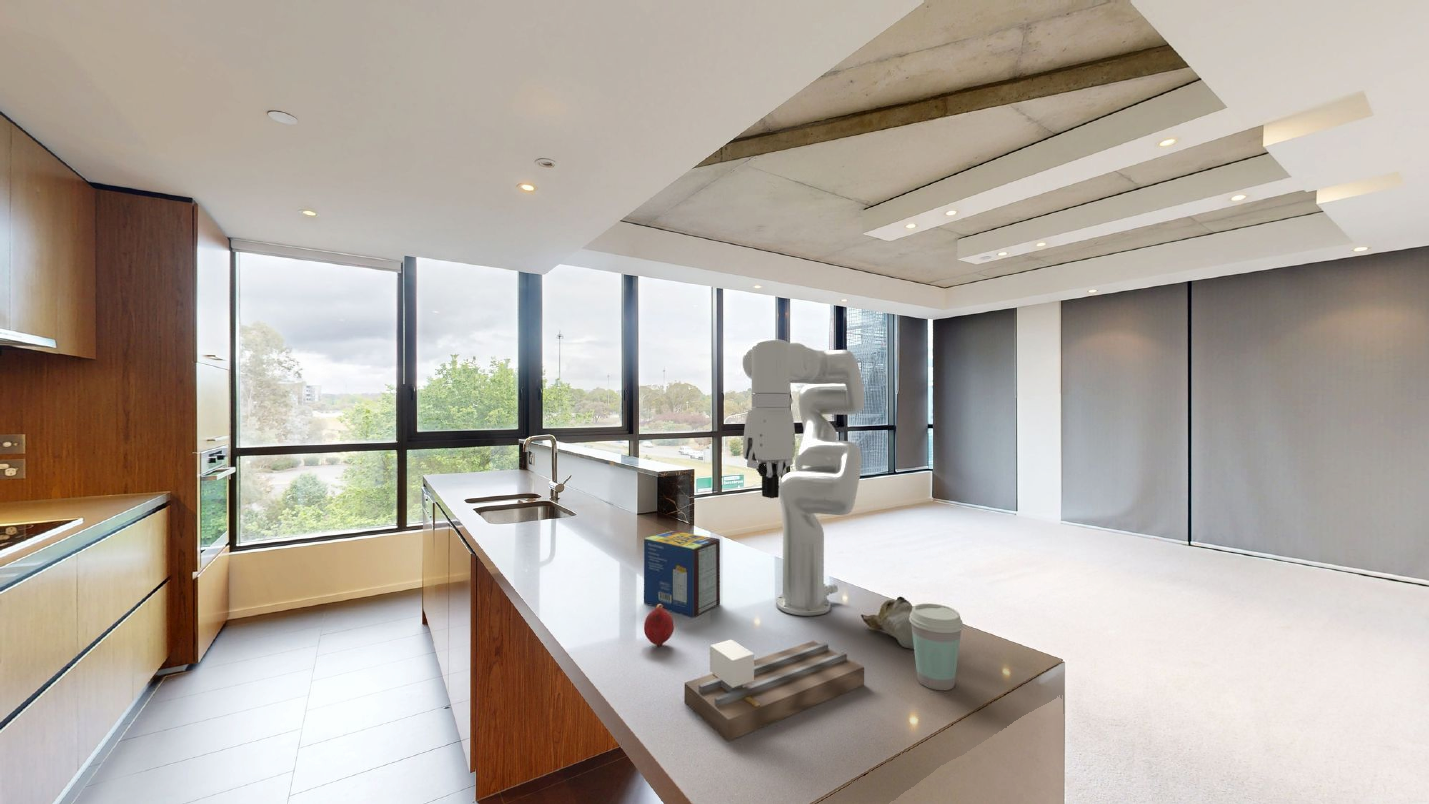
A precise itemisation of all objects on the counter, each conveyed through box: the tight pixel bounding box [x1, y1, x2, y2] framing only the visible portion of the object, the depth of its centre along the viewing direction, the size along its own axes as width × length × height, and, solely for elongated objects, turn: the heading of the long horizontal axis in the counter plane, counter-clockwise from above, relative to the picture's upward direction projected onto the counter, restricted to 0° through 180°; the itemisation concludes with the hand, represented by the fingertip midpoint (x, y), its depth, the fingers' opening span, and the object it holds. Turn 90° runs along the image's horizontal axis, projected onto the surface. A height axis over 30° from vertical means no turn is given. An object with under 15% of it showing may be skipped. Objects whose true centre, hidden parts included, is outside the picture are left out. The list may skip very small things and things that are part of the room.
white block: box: [709, 639, 755, 692], centre depth 83 cm, size 4×6×6 cm, turn 34°
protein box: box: [643, 530, 721, 619], centre depth 128 cm, size 10×15×16 cm
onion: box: [643, 604, 675, 647], centre depth 105 cm, size 6×6×8 cm
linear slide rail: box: [683, 640, 865, 742], centre depth 88 cm, size 28×12×4 cm, turn 124°
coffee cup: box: [909, 602, 964, 691], centre depth 92 cm, size 8×9×12 cm
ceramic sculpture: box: [860, 596, 914, 650], centre depth 110 cm, size 11×9×15 cm
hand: (770, 496), depth 105 cm, fingers closed
